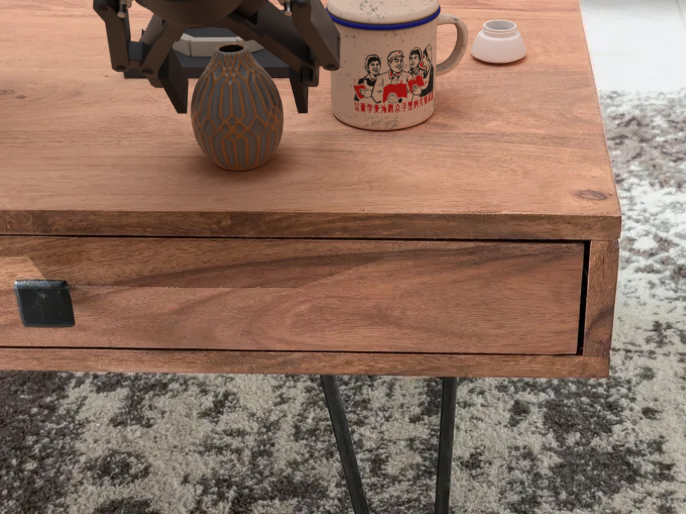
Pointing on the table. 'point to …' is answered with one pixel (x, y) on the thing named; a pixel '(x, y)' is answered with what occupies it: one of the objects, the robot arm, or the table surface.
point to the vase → (236, 110)
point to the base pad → (200, 47)
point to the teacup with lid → (389, 61)
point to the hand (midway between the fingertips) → (243, 96)
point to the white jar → (498, 42)
